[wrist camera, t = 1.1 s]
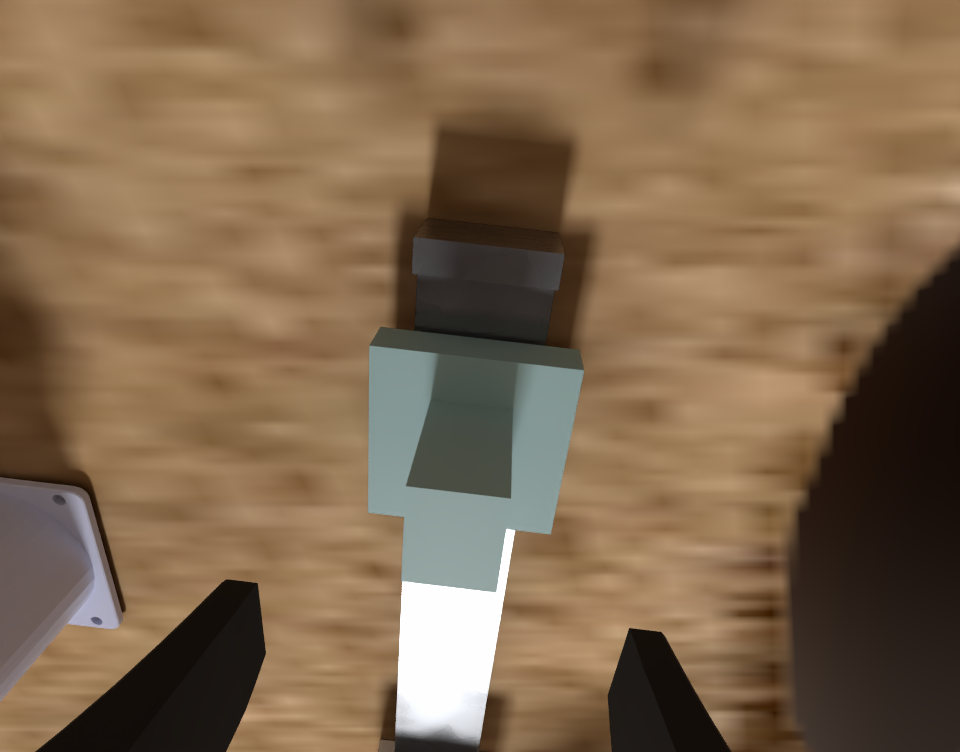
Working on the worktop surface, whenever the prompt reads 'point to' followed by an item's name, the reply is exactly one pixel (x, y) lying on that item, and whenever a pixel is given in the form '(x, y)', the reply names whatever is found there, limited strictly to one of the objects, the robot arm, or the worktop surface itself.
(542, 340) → the rail
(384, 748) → the white button housing
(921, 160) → the worktop surface
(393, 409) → the carriage
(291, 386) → the worktop surface
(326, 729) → the worktop surface
